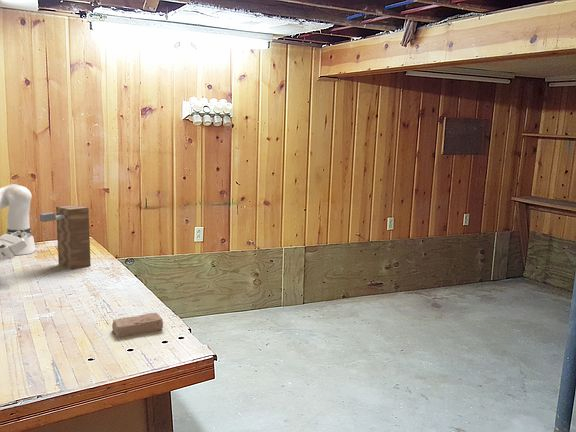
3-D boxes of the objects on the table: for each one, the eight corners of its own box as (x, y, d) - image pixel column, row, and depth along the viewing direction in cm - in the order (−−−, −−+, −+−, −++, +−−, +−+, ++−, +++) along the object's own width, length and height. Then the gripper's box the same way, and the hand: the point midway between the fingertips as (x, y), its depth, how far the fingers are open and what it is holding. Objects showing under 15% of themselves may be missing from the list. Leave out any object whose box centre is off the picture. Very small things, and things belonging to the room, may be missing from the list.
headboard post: (58, 264, 273) (56, 206, 268) (76, 261, 281) (74, 204, 276) (72, 269, 265) (70, 209, 260) (90, 265, 272) (88, 207, 268)
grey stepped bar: (44, 222, 255) (43, 215, 254) (40, 221, 258) (39, 214, 257) (74, 216, 267) (73, 209, 267) (70, 215, 270) (69, 209, 269)
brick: (117, 338, 179) (116, 325, 179) (111, 330, 186) (111, 318, 186) (163, 331, 188) (163, 318, 187) (156, 323, 195) (156, 311, 194)
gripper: (-6, 252, 250) (18, 234, 258) (13, 259, 238) (38, 240, 246) (-14, 242, 247) (11, 224, 255) (5, 248, 234) (31, 230, 243)
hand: (25, 232), depth 250 cm, fingers open, 8 cm apart
